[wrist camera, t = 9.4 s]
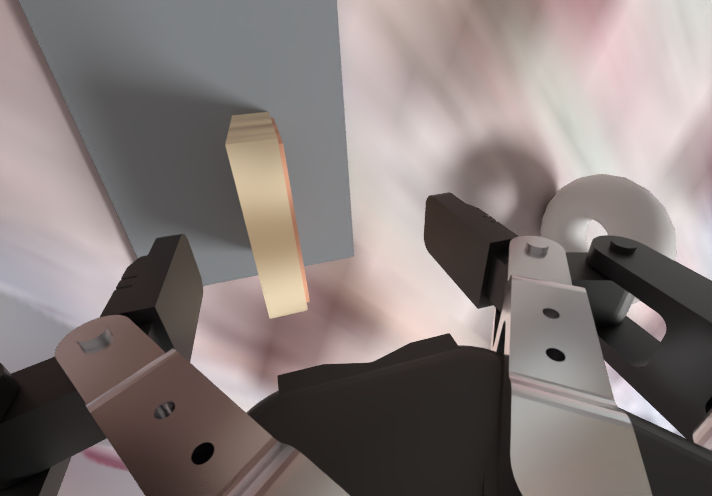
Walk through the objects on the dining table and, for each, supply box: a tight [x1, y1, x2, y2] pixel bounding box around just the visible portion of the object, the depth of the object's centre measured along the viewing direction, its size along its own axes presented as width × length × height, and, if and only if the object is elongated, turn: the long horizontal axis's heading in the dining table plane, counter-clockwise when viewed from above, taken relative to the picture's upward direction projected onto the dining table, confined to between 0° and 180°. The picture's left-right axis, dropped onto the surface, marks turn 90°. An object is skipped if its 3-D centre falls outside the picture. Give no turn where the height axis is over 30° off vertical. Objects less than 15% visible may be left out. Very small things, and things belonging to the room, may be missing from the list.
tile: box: [225, 112, 310, 319], centre depth 19 cm, size 9×2×7 cm, turn 3°
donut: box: [540, 174, 677, 304], centre depth 26 cm, size 10×4×10 cm, turn 4°
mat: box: [18, 0, 354, 286], centre depth 20 cm, size 18×14×1 cm
